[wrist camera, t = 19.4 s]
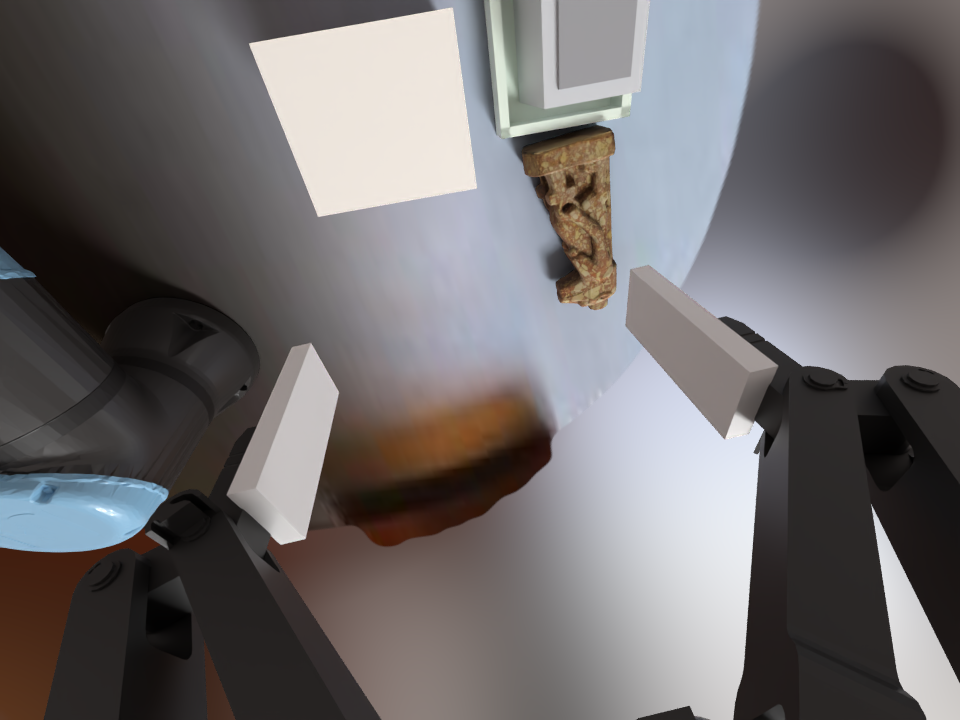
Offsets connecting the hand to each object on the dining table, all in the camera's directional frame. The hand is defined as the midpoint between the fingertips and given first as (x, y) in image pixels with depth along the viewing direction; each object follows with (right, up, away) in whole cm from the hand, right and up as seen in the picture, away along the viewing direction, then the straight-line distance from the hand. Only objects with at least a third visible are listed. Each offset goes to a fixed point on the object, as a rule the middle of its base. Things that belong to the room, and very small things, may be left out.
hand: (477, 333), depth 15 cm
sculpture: (+11, +15, +26) cm, 32 cm away
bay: (-8, +21, +18) cm, 29 cm away
